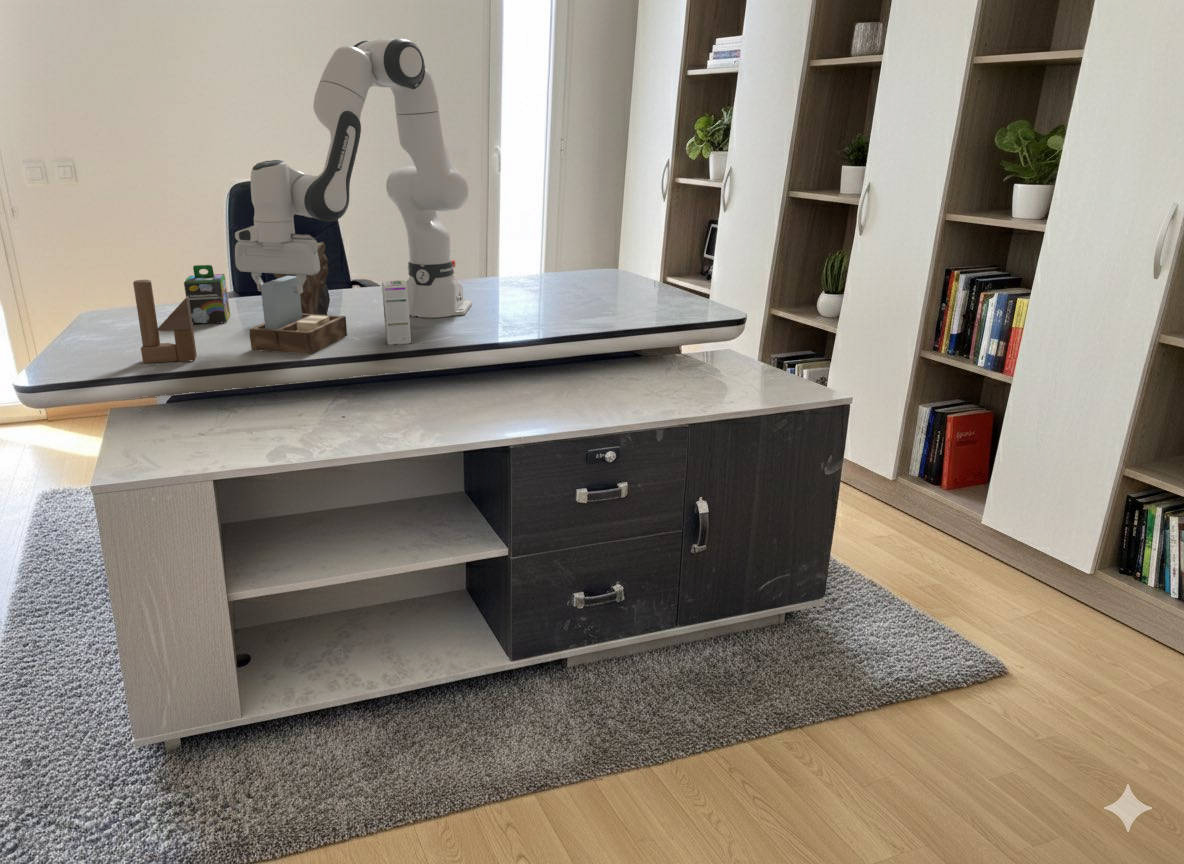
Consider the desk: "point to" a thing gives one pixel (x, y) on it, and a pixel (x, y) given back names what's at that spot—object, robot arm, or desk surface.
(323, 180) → the robot arm
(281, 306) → the tall sheet
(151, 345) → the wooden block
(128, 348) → the desk surface
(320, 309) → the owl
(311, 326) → the short pine offcut
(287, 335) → the walnut rack
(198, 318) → the chalk box
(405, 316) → the syrup box
